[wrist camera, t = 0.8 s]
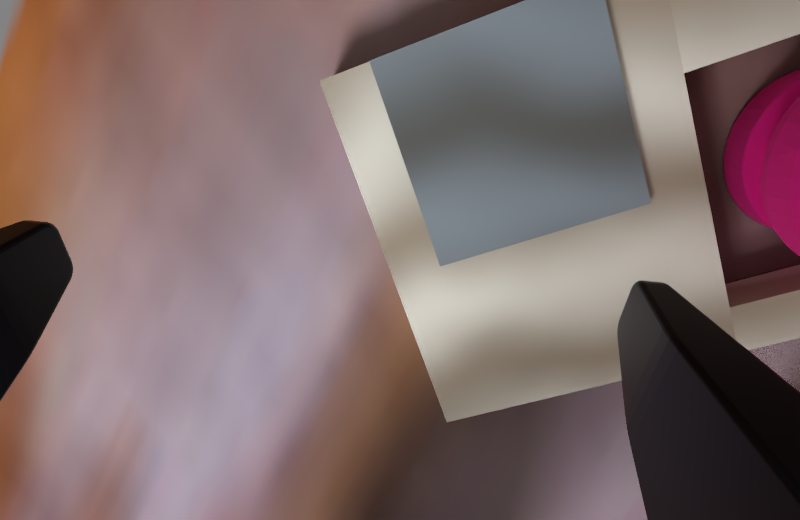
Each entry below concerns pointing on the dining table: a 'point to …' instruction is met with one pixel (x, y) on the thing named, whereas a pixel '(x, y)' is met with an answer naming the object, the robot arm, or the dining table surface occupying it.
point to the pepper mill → (768, 159)
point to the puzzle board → (551, 187)
